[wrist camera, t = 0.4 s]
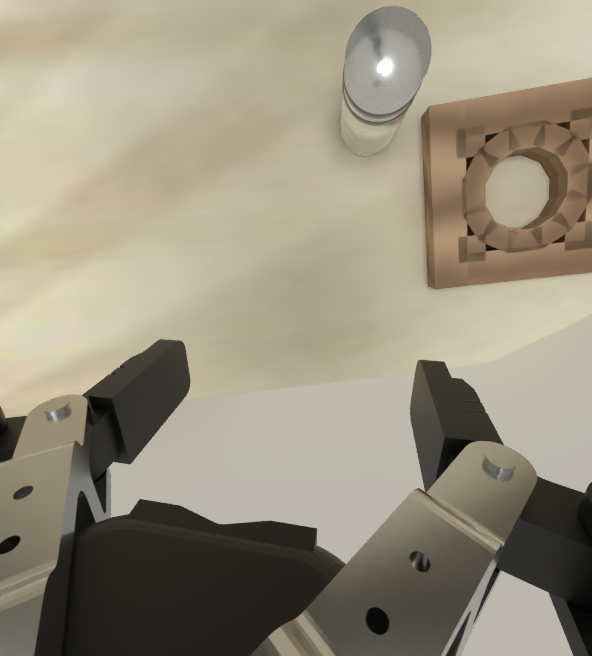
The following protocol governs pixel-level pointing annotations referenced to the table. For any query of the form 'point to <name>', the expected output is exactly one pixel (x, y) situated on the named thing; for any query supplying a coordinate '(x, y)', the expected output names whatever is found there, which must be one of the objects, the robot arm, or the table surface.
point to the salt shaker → (382, 76)
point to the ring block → (476, 167)
